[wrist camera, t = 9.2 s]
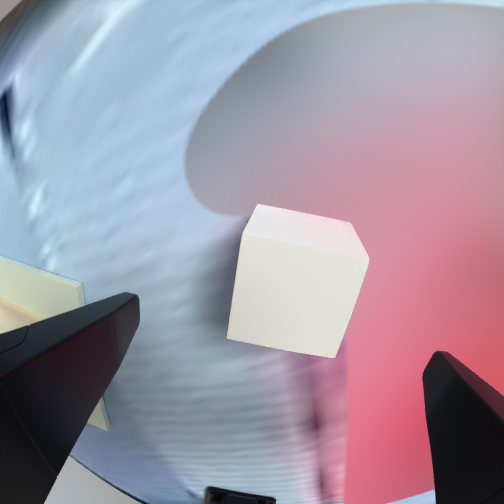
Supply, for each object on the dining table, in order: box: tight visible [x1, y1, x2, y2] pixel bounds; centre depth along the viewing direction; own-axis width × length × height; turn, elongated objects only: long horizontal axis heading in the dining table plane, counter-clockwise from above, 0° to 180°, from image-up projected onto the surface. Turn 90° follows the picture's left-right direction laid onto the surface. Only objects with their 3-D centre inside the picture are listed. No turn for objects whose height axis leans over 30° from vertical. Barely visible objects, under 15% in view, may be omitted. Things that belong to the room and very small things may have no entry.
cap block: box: [227, 204, 370, 358], centre depth 12 cm, size 4×4×4 cm
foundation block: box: [0, 296, 48, 334], centre depth 17 cm, size 8×8×4 cm
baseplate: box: [0, 255, 111, 432], centre depth 19 cm, size 14×14×1 cm
